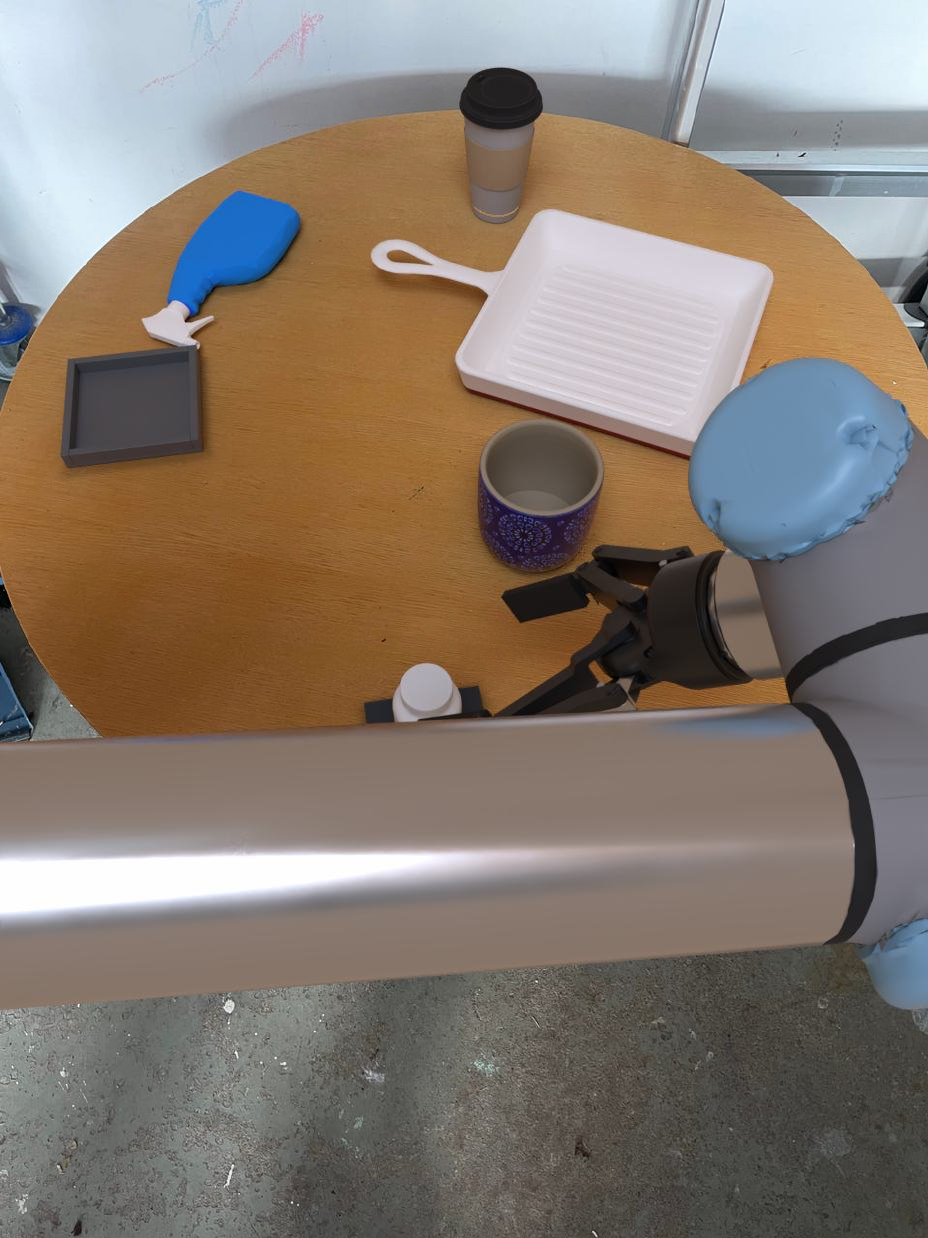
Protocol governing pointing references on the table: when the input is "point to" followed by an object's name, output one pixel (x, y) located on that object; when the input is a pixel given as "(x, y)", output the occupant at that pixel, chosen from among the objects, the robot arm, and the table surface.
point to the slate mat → (384, 713)
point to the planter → (538, 493)
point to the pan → (607, 327)
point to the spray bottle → (224, 259)
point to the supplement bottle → (425, 694)
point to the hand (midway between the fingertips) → (472, 667)
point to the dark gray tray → (132, 406)
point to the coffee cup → (499, 138)
